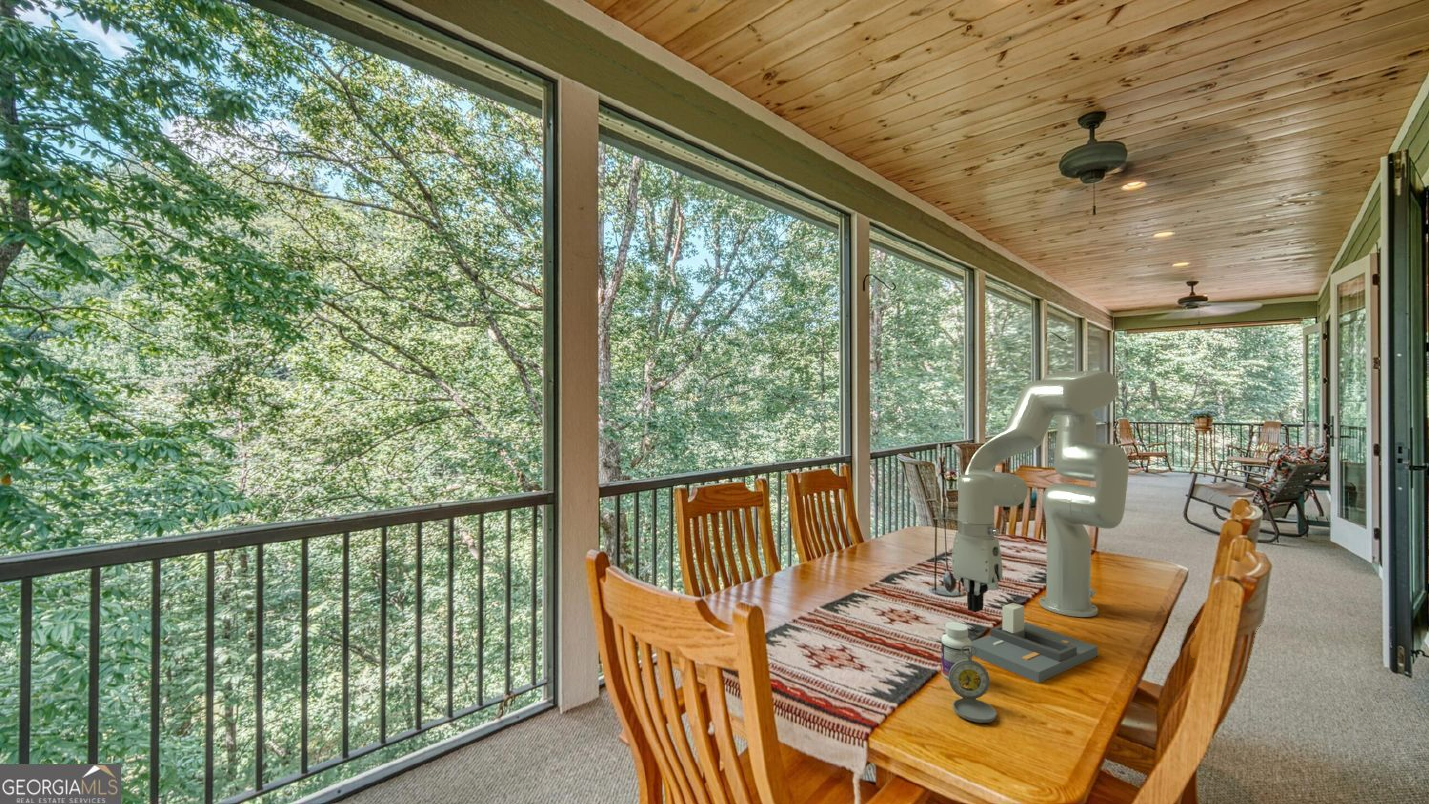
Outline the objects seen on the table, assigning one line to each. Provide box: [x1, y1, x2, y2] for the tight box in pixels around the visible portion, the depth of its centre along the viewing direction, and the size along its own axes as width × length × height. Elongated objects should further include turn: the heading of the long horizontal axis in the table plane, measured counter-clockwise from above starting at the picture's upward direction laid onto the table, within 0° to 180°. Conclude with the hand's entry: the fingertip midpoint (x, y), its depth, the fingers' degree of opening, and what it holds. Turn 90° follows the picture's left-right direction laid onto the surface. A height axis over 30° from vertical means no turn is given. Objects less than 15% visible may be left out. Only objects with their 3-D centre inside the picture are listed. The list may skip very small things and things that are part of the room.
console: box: [971, 621, 1099, 684], centre depth 119 cm, size 22×15×4 cm
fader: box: [1001, 602, 1025, 638], centre depth 122 cm, size 4×3×7 cm
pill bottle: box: [940, 621, 973, 683], centre depth 109 cm, size 5×5×10 cm
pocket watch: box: [948, 645, 997, 724], centre depth 97 cm, size 8×8×10 cm
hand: (975, 609), depth 130 cm, fingers closed
